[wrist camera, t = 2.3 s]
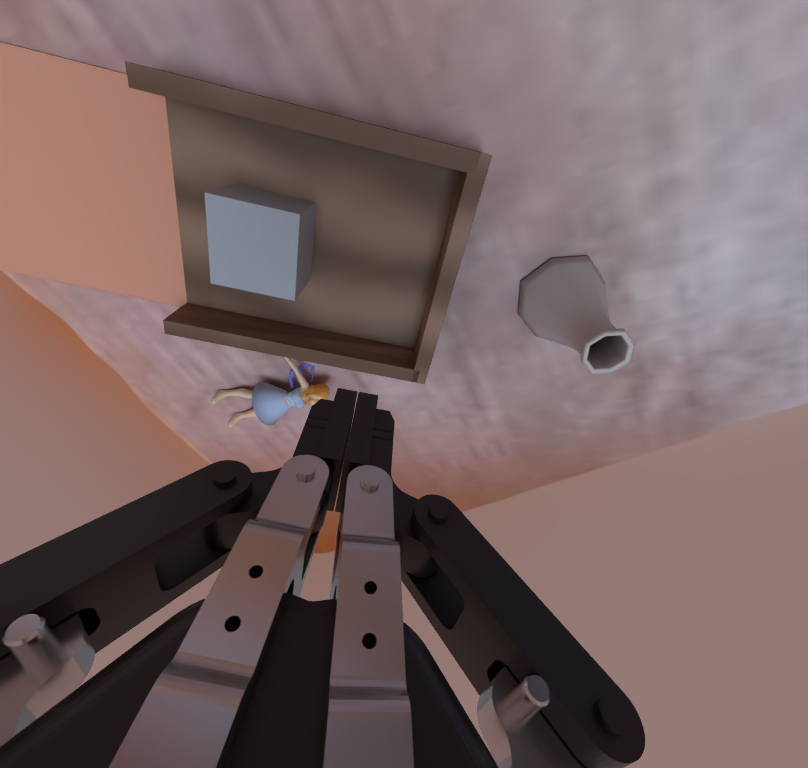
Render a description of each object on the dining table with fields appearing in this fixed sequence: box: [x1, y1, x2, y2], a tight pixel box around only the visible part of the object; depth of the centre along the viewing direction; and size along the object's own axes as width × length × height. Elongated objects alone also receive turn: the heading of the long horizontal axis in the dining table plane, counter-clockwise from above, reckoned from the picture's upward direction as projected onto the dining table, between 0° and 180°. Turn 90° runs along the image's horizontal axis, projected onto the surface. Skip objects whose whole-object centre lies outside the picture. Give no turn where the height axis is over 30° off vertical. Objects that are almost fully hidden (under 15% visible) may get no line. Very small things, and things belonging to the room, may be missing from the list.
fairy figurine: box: [211, 357, 329, 428], centre depth 38 cm, size 12×5×12 cm
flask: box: [518, 256, 635, 374], centre depth 28 cm, size 7×7×10 cm
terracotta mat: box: [0, 42, 187, 307], centre depth 29 cm, size 16×16×1 cm
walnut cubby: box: [125, 61, 492, 384], centre depth 29 cm, size 17×22×4 cm
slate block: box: [205, 184, 317, 301], centre depth 28 cm, size 6×6×5 cm
